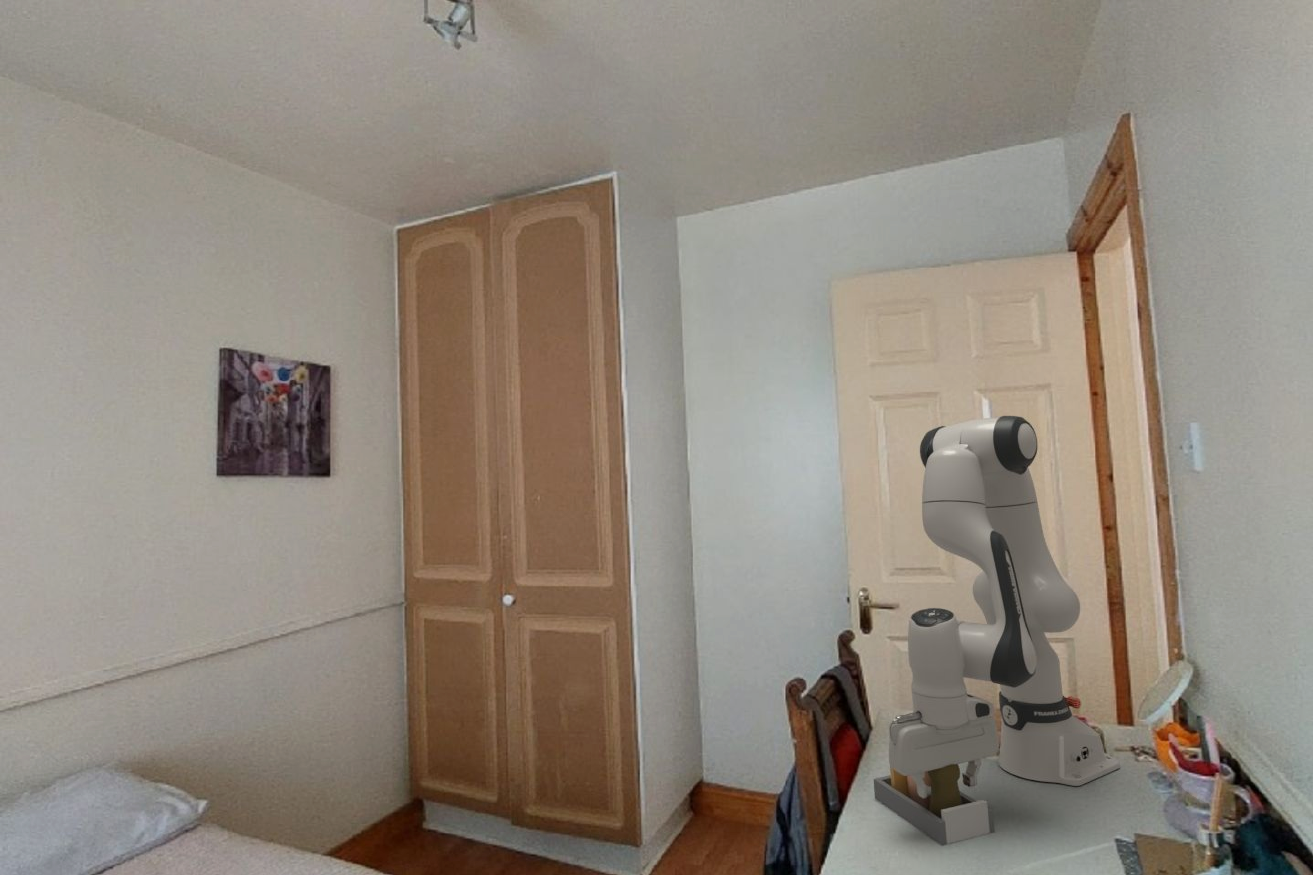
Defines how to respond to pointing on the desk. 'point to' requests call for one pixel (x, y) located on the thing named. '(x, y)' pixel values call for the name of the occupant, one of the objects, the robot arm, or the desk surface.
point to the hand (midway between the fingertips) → (947, 790)
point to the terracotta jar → (914, 795)
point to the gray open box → (953, 825)
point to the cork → (944, 789)
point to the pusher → (899, 782)
